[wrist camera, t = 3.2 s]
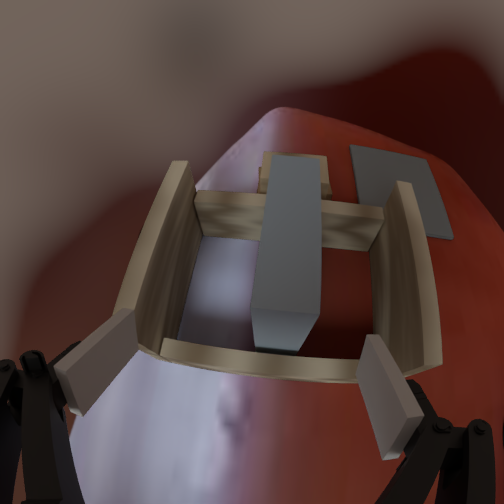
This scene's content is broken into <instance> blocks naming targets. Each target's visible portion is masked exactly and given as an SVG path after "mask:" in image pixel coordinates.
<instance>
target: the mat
mask: <svg viewBox="0 0 504 504" xmlns="http://www.w3.org/2000/svg"><path fill="white" fill-rule="evenodd" d="M349 149H350V154H351V159H352V165H353V171H354V177H355V184H356V190H357V197H358V204H361V205H368V206H375V207H382V209H384V207H385V205H386V202H387V200H388V198H389V196H390V194H391V192H392V189H393V187H394V185H395V183H396V181H403V182H408V183H411V184H412V187H413V191H414V194H415V197H416V200H417V204H418V207H419V211H420V215H421V219H422V222H423V226H424V230H425V235H426V236H429V237H436V238H443V239H449V240H452V239H453V238H454V236H453V233H452V229H451V226H450V223H449V219H448V216H447V213H446V210H445V207H444V204H443V201H442V198H441V196H440V193H439V190H438V187H437V185H436V182H435V180H434V177H433V175H432V172H431V170H430V167H429V165H428V163H427V160H426V159H422V158H418V157H414V156H409V155H405V154H400V153H395V152H390V151H385V150H380V149H374V148H369V147H363V146H357V145H350V146H349Z"/></svg>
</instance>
